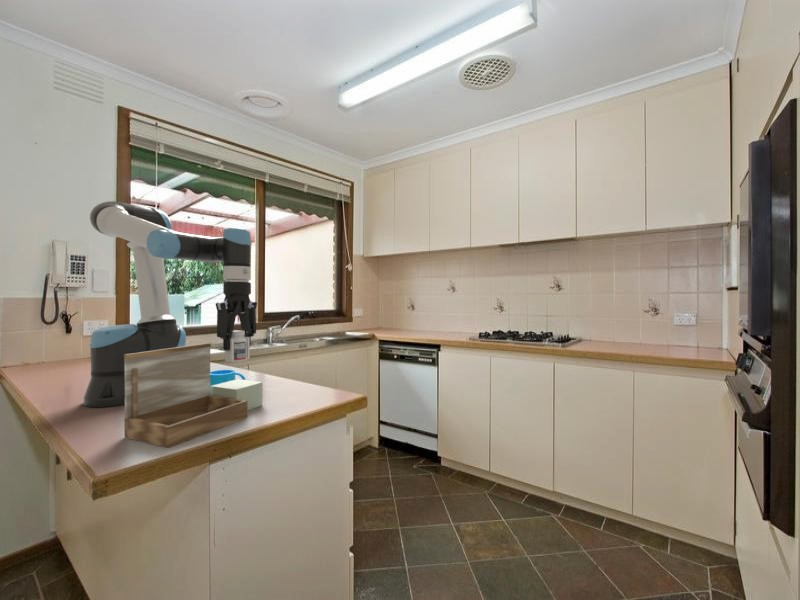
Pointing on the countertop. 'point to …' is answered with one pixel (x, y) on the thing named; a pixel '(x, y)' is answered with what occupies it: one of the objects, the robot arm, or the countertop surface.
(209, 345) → the wooden tray with backboard
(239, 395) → the step
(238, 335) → the pill bottle
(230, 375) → the mug
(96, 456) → the countertop surface
